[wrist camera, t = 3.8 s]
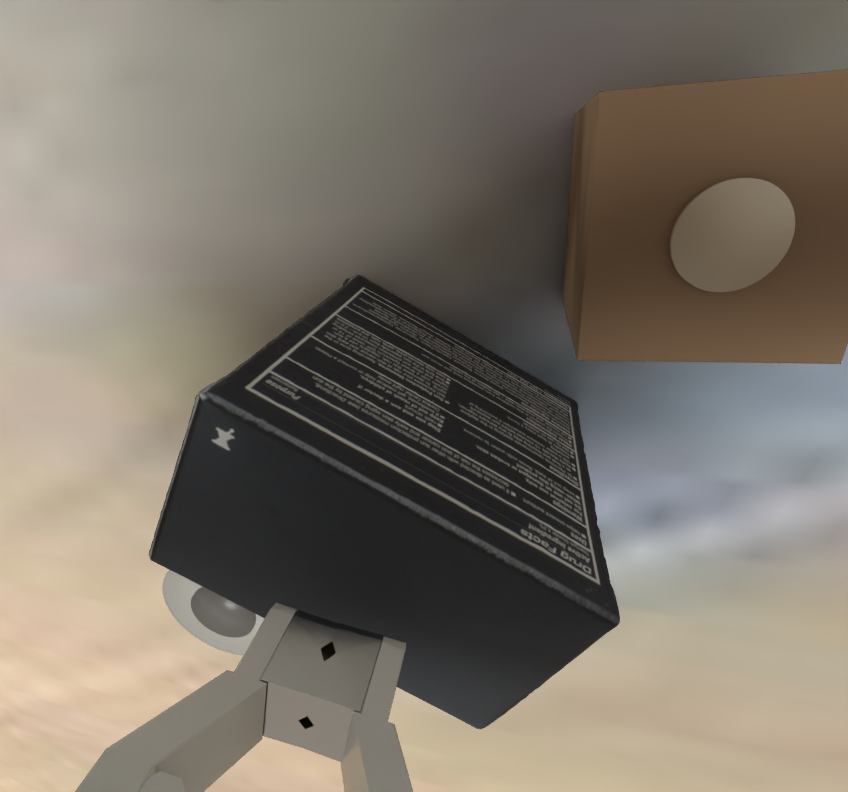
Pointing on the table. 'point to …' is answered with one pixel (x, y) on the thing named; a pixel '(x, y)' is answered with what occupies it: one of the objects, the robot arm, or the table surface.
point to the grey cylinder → (210, 615)
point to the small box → (397, 500)
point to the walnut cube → (711, 222)
